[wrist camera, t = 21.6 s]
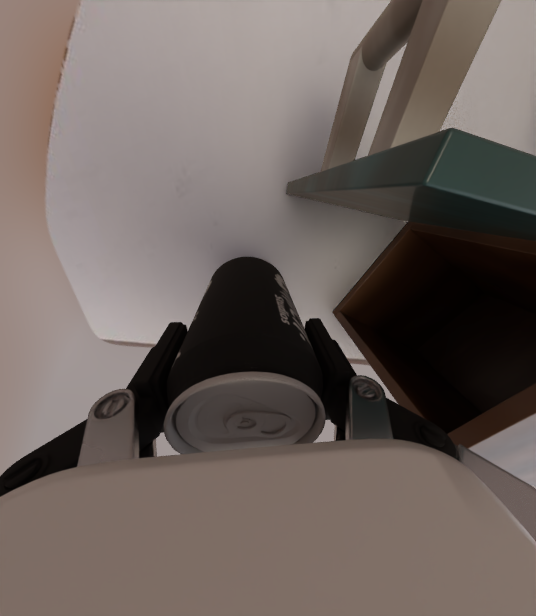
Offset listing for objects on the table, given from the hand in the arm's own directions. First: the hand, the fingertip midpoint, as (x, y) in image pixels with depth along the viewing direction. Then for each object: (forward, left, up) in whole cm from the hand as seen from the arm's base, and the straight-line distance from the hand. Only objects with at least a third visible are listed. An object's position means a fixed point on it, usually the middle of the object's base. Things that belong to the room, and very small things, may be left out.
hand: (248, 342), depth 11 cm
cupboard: (+23, -5, -14) cm, 27 cm away
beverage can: (0, 0, -7) cm, 7 cm away
